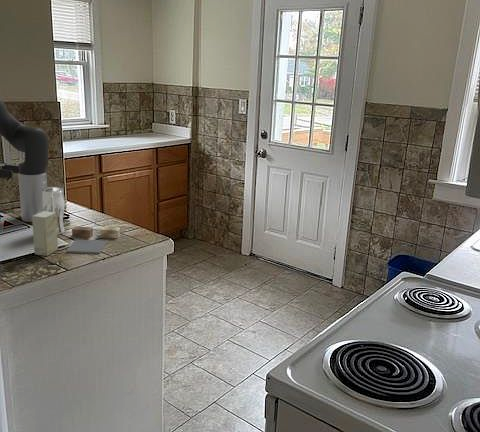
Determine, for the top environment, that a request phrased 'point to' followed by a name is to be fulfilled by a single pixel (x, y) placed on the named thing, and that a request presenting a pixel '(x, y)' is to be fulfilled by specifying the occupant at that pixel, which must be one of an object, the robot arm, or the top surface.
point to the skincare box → (45, 233)
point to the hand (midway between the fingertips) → (16, 172)
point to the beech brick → (110, 232)
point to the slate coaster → (87, 246)
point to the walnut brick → (82, 232)
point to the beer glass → (54, 204)
